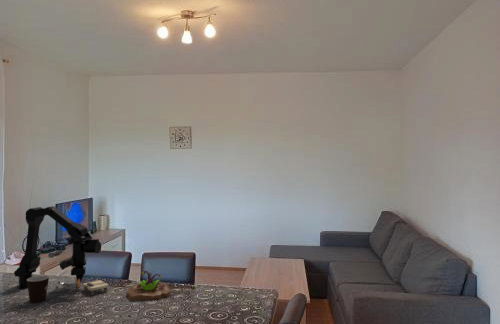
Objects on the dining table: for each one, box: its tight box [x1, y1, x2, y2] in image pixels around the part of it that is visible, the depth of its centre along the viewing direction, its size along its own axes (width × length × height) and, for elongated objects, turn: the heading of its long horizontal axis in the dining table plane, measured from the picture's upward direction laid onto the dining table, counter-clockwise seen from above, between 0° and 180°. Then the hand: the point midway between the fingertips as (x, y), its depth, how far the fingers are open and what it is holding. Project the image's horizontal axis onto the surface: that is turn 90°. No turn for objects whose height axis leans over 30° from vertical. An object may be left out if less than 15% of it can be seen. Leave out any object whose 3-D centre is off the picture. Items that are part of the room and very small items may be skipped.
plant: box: [126, 270, 171, 302], centre depth 173 cm, size 20×20×11 cm
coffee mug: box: [27, 275, 50, 304], centre depth 165 cm, size 12×9×10 cm
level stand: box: [69, 279, 109, 296], centre depth 176 cm, size 15×13×5 cm
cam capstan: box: [52, 277, 81, 293], centre depth 177 cm, size 12×6×5 cm, turn 92°
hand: (79, 283), depth 180 cm, fingers closed
